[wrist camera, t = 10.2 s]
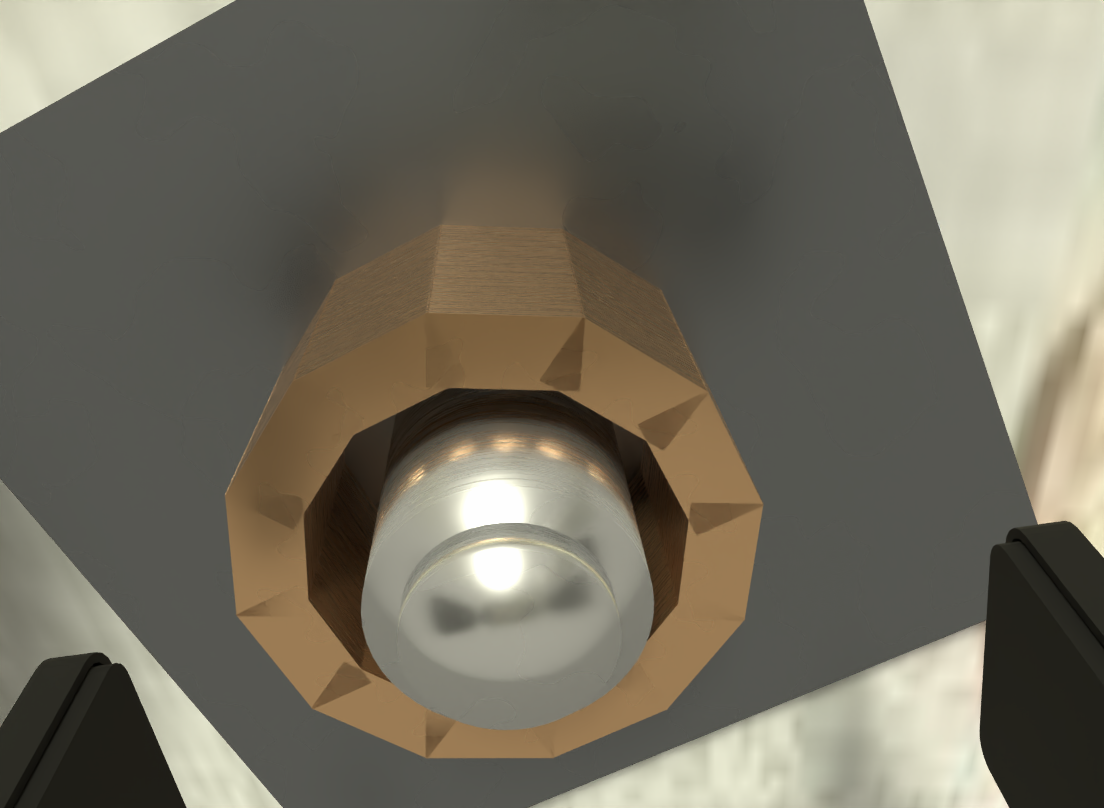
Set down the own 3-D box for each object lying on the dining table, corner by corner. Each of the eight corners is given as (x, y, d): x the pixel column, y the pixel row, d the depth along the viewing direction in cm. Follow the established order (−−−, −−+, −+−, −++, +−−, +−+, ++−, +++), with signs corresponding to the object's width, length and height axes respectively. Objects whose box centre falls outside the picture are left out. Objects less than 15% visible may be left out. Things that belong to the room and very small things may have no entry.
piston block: (739, -278, 15) (930, -428, 8) (1023, 547, 21) (1253, 818, 15) (-146, 219, 17) (-526, 401, 11) (354, 825, 24) (304, 1164, 17)
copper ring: (590, 145, 16) (621, 213, 12) (763, 500, 19) (830, 640, 15) (197, 351, 17) (117, 469, 13) (419, 656, 20) (403, 822, 16)
